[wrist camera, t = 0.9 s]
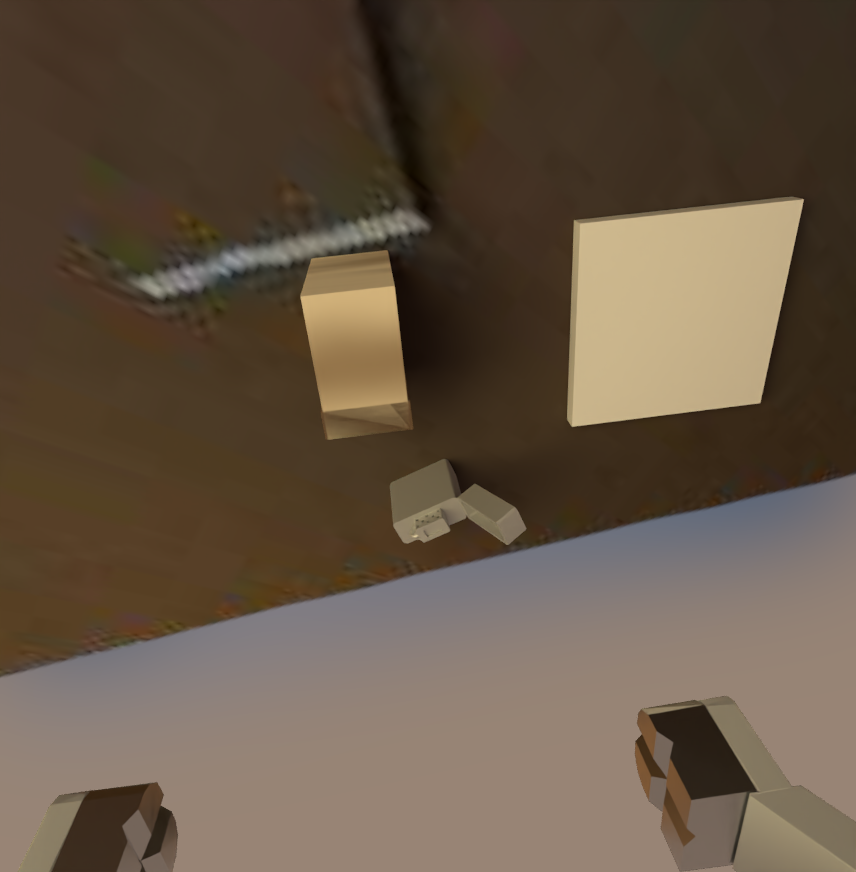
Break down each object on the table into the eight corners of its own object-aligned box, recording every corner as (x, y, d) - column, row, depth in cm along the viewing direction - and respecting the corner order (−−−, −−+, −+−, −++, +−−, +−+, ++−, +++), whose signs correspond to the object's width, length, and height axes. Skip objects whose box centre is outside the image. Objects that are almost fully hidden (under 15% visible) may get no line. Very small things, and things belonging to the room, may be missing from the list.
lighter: (400, 502, 39) (409, 588, 32) (388, 483, 39) (395, 567, 32) (499, 459, 39) (530, 537, 32) (489, 438, 38) (518, 514, 31)
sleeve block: (309, 258, 31) (298, 296, 25) (389, 250, 31) (397, 285, 25) (331, 380, 35) (326, 439, 29) (403, 372, 35) (412, 428, 29)
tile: (574, 220, 32) (580, 223, 31) (792, 196, 32) (803, 199, 31) (567, 419, 38) (572, 426, 37) (751, 396, 38) (760, 403, 37)
